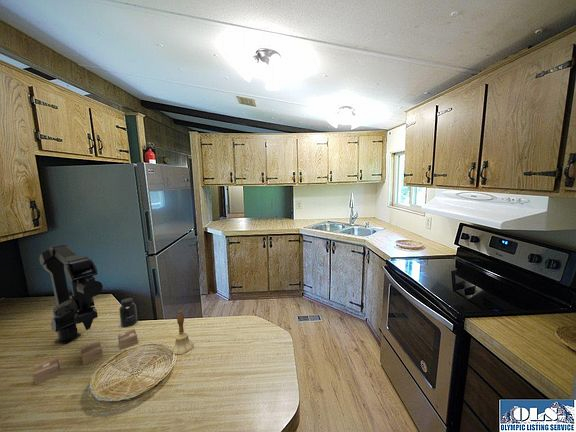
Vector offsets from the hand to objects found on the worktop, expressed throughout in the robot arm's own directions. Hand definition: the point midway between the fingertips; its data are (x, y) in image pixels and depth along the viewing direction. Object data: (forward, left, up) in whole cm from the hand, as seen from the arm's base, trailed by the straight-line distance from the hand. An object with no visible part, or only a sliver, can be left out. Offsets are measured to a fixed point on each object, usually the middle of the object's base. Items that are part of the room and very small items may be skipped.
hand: (88, 329), depth 94 cm
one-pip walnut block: (-7, -10, -12) cm, 17 cm away
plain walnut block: (0, 0, -12) cm, 12 cm away
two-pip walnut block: (+8, +9, -12) cm, 17 cm away
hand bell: (+33, +9, -12) cm, 36 cm away
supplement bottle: (-4, +23, -12) cm, 26 cm away
